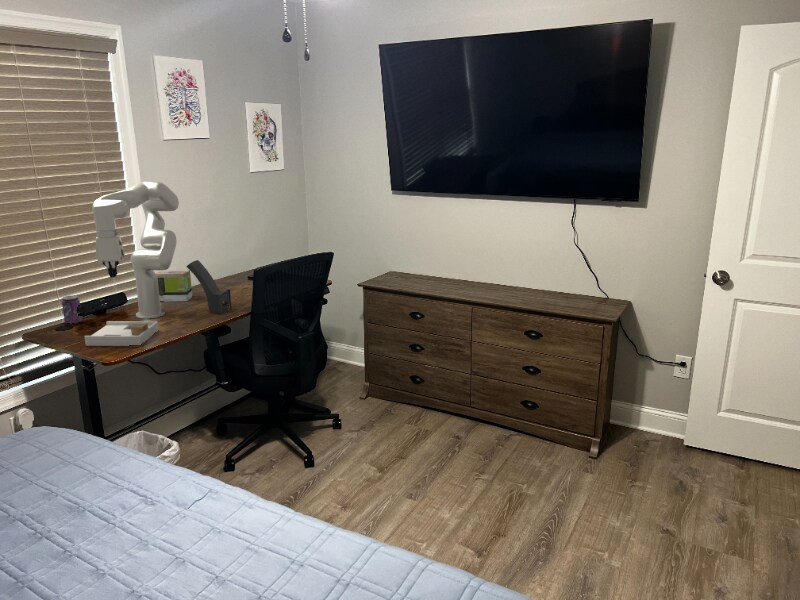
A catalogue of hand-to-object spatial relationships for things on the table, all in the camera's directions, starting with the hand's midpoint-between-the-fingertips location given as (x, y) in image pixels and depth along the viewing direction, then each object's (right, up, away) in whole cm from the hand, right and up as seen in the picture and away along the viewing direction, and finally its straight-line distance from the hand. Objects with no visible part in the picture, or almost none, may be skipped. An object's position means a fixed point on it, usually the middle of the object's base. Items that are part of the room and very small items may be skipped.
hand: (113, 276), depth 253 cm
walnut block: (+11, -24, 0) cm, 26 cm away
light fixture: (+28, -15, +40) cm, 51 cm away
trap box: (+4, -26, +1) cm, 26 cm away
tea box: (+4, -10, +59) cm, 60 cm away
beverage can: (-27, -20, +20) cm, 40 cm away
